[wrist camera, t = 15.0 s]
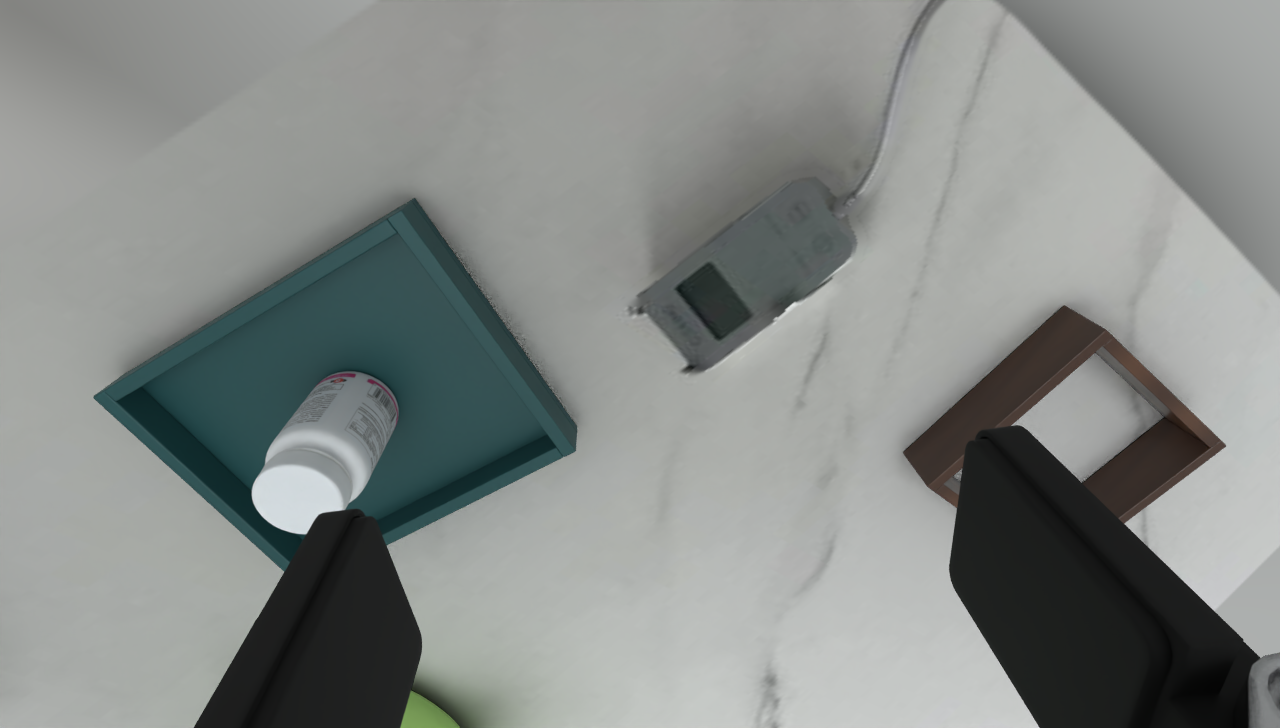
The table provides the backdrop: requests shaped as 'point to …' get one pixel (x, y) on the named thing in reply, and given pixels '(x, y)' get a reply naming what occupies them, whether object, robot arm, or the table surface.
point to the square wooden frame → (1033, 376)
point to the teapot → (425, 714)
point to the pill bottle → (325, 451)
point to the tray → (362, 342)
